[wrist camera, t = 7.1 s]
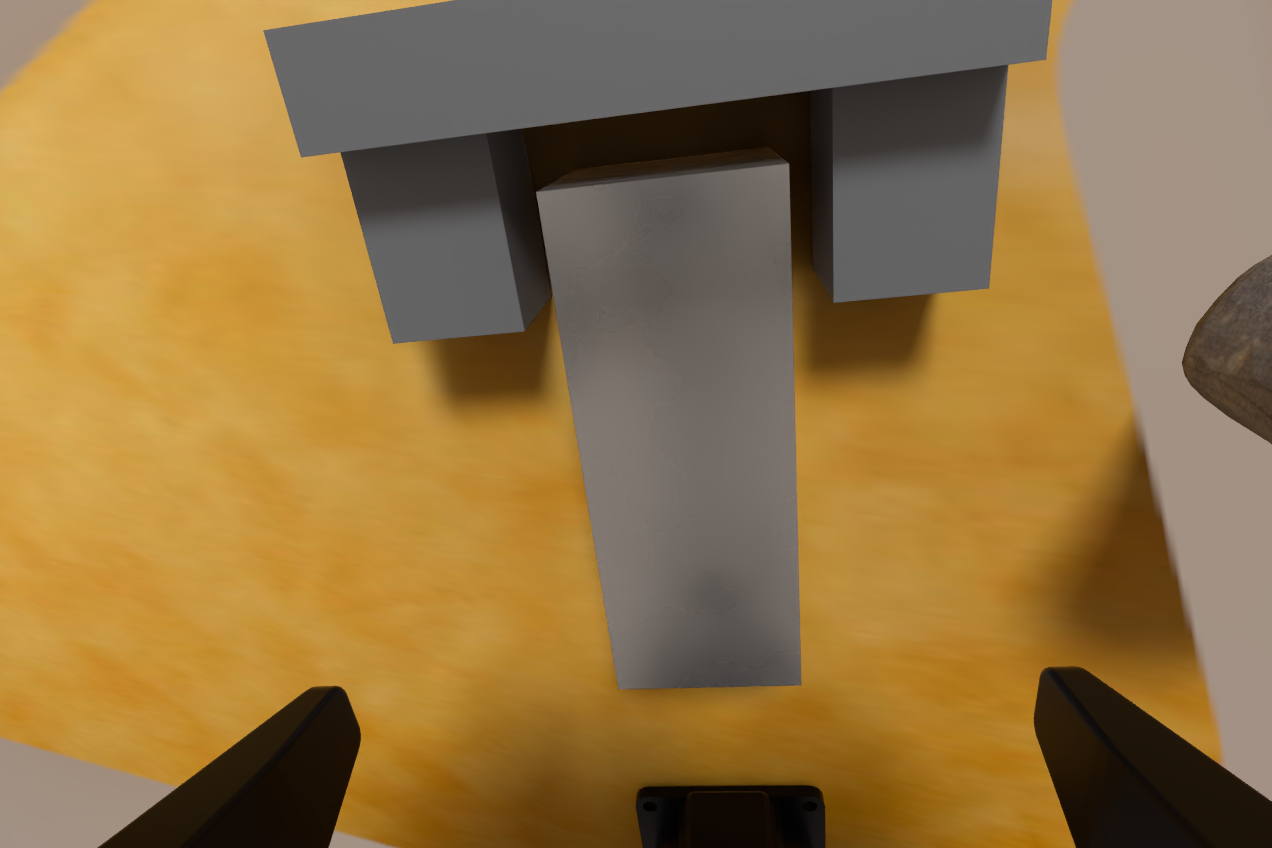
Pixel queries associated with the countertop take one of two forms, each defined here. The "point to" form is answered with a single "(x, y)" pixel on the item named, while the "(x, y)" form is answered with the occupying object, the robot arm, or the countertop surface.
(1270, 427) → the grey tapered cup
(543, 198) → the long gray post
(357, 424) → the countertop surface
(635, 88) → the grey u-shaped block
